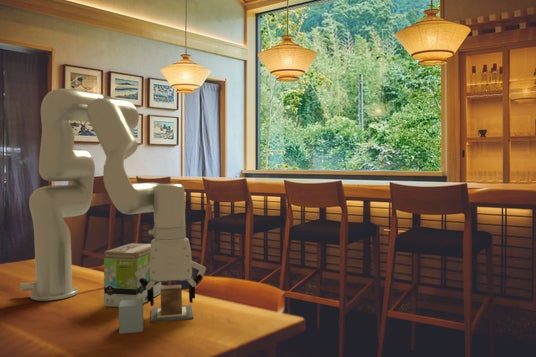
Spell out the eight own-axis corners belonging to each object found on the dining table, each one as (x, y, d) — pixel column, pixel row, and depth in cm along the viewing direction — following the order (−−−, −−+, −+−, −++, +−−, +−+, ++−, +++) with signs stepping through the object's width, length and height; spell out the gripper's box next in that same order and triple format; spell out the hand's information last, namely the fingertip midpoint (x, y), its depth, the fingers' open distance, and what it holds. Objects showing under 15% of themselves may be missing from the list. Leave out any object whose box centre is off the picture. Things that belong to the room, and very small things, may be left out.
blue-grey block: (119, 333, 106) (118, 306, 105) (121, 326, 110) (120, 300, 110) (142, 331, 107) (142, 305, 106) (143, 324, 112) (143, 299, 111)
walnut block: (161, 315, 116) (160, 291, 116) (161, 309, 121) (160, 286, 120) (182, 314, 117) (181, 289, 117) (181, 308, 122) (181, 284, 121)
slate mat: (150, 322, 113) (150, 319, 113) (151, 309, 123) (151, 307, 123) (193, 318, 115) (193, 316, 115) (191, 306, 125) (191, 304, 125)
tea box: (138, 308, 124) (137, 251, 124) (103, 307, 126) (101, 251, 126) (162, 293, 139) (161, 242, 138) (130, 292, 141) (129, 242, 140)
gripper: (132, 237, 113) (134, 310, 113) (206, 234, 116) (208, 304, 117) (134, 233, 120) (136, 301, 121) (204, 230, 124) (205, 296, 124)
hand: (171, 302), depth 119 cm, fingers open, 9 cm apart
